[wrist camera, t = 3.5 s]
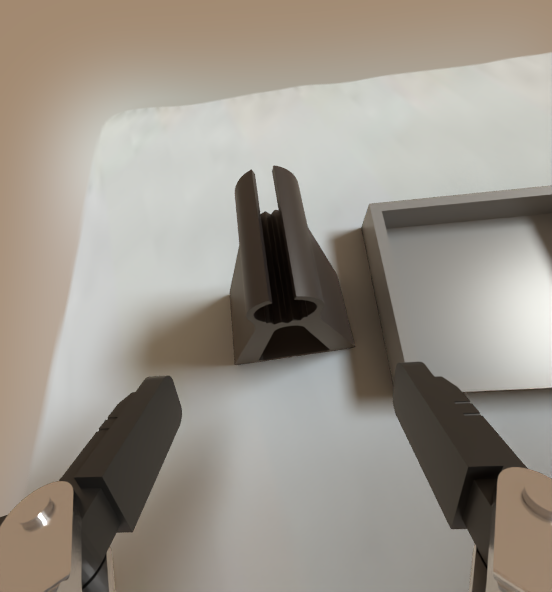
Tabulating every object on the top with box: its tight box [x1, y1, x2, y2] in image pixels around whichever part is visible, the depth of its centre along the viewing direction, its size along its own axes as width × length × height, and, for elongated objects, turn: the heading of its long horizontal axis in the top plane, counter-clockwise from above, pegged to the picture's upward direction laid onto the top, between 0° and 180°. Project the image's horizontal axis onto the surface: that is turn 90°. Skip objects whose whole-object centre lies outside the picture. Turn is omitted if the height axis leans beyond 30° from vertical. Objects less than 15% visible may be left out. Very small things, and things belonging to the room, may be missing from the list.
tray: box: [362, 186, 552, 392], centre depth 19 cm, size 16×14×3 cm
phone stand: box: [230, 166, 355, 365], centre depth 15 cm, size 9×6×12 cm, turn 97°
